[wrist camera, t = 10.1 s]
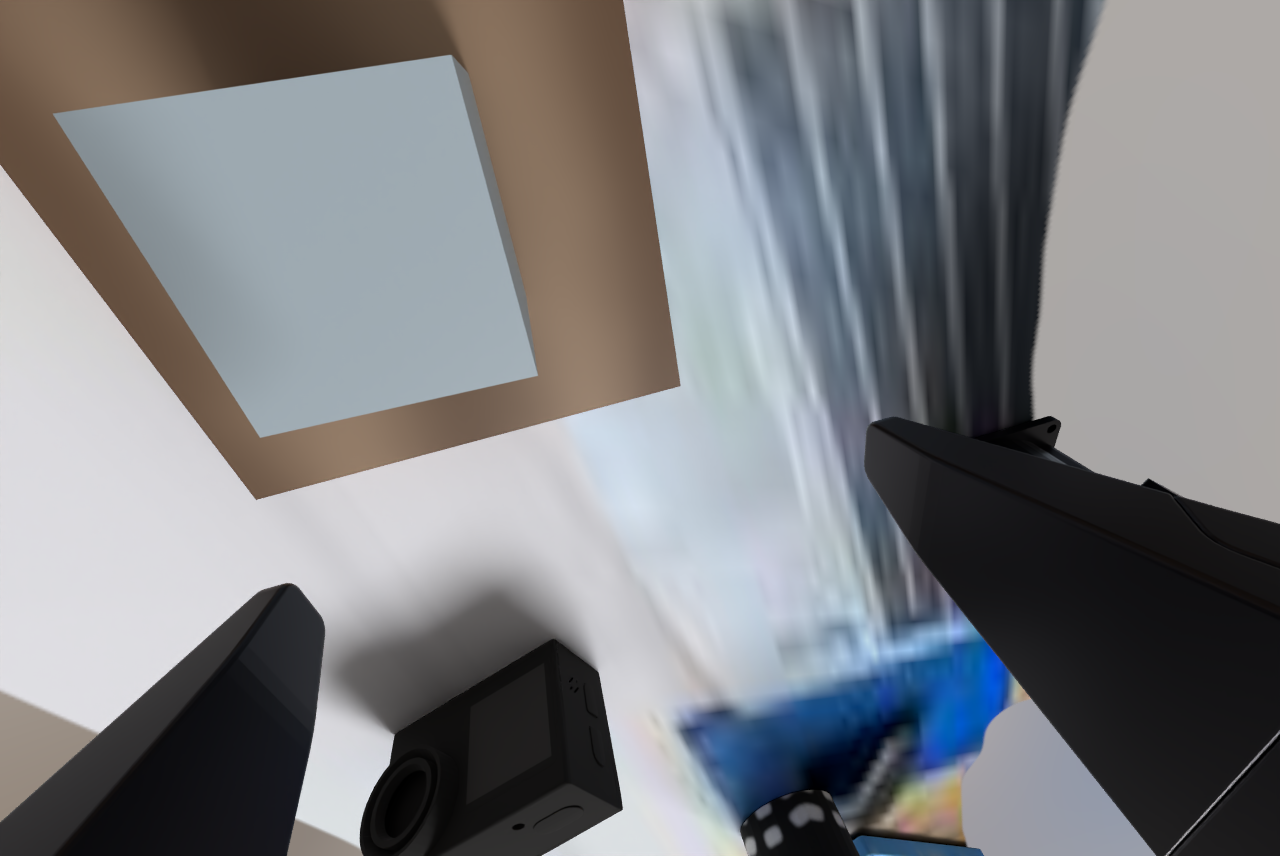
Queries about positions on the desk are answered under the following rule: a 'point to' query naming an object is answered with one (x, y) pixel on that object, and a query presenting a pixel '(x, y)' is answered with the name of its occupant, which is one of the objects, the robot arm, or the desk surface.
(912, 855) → the file sorter
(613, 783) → the digital camera
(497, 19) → the walnut block
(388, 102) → the slate cube
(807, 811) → the spotted tube
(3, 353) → the desk surface
